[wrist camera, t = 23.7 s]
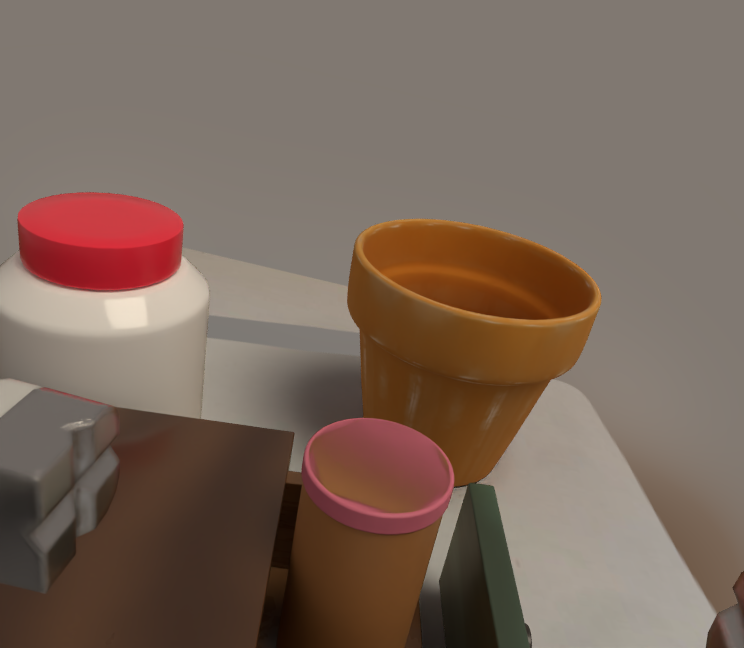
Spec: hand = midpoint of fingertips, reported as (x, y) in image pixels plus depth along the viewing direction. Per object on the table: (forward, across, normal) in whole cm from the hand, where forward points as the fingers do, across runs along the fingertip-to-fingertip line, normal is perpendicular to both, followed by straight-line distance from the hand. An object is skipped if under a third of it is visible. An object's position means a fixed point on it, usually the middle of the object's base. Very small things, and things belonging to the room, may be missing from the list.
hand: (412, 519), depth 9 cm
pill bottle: (+22, -16, -21) cm, 34 cm away
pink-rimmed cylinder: (+12, -1, -18) cm, 22 cm away
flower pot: (+31, +2, -21) cm, 37 cm away
